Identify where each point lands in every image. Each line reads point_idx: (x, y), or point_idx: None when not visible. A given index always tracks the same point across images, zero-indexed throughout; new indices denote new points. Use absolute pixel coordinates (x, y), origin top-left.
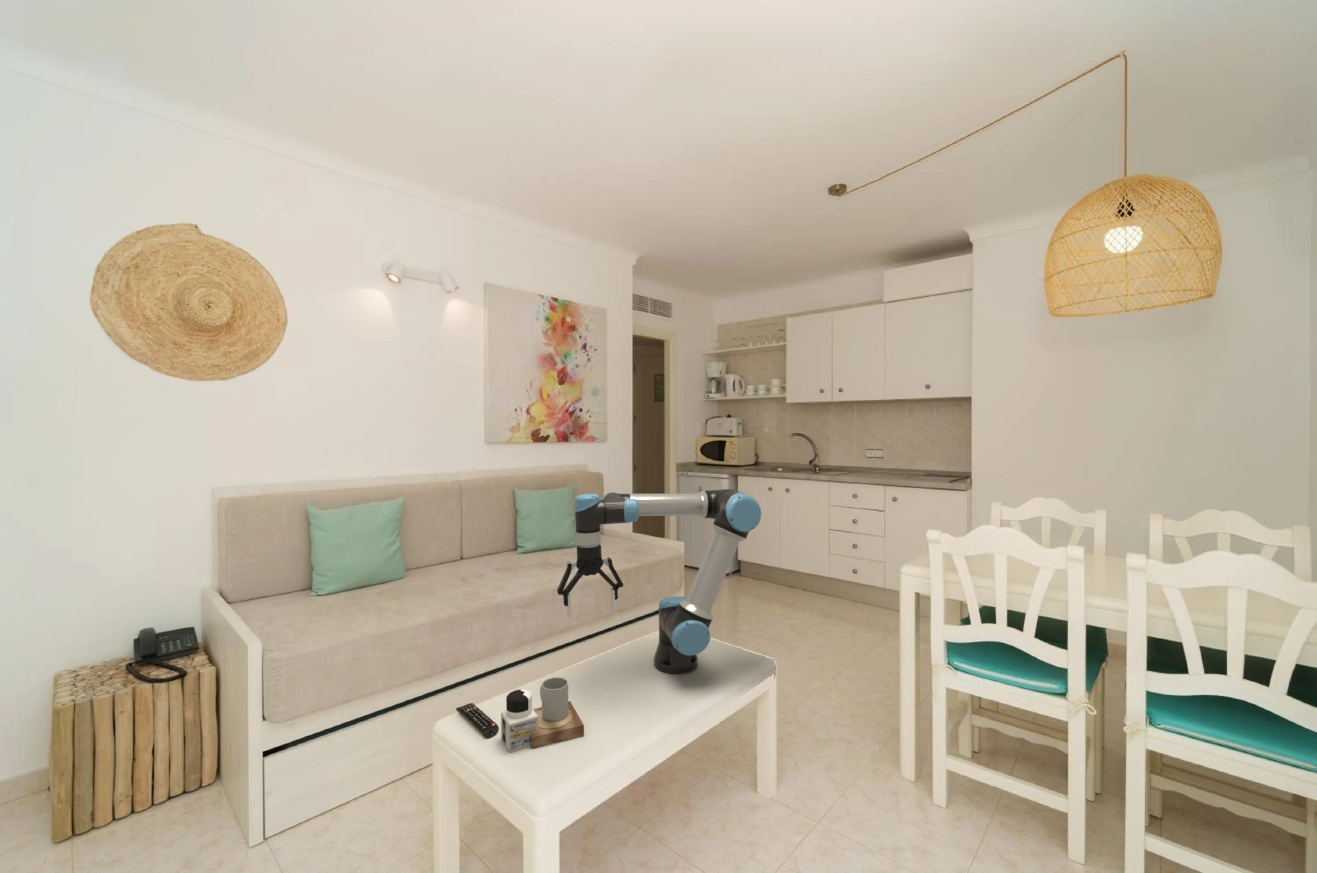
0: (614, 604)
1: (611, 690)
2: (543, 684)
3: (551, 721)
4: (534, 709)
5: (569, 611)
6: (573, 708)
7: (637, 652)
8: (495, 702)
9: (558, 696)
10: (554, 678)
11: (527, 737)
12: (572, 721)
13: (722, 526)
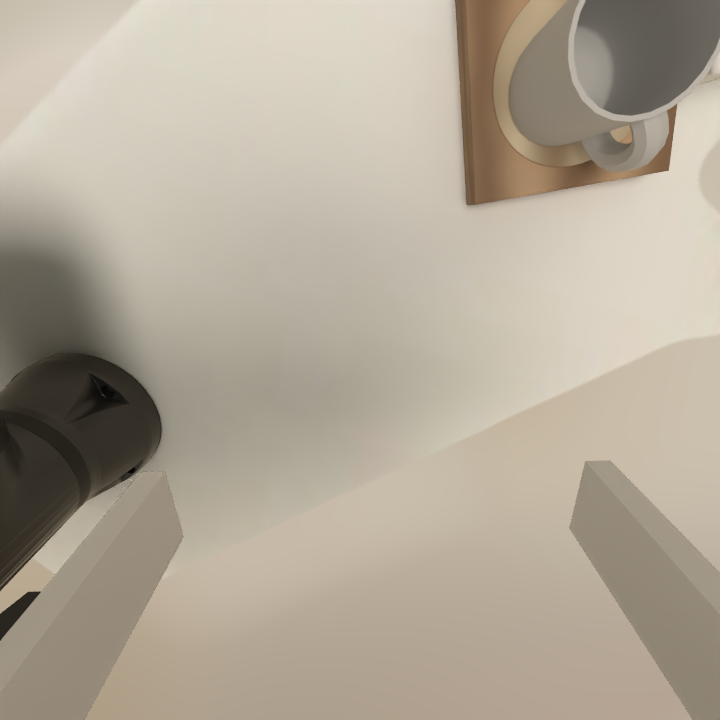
0: (101, 526)
1: (310, 308)
2: (695, 71)
3: (589, 30)
4: (618, 172)
5: (644, 504)
6: (476, 137)
7: (207, 511)
8: (681, 330)
9: None
10: (623, 117)
11: None
12: (503, 18)
13: None
